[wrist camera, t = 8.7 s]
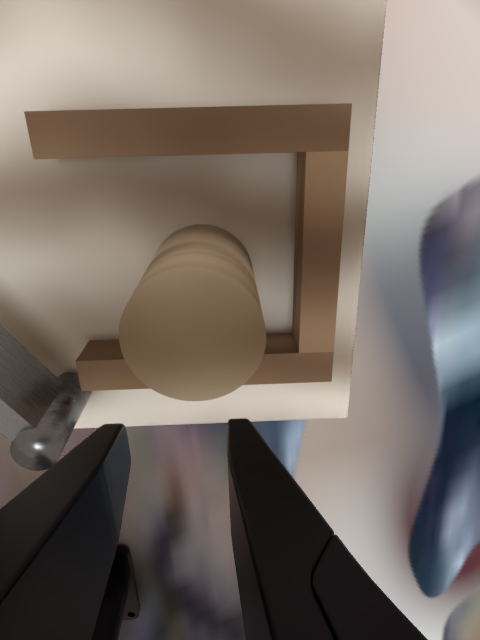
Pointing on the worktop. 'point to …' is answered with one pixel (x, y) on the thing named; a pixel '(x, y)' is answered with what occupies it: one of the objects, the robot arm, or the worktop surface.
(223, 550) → the worktop surface
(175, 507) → the worktop surface
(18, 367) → the bar
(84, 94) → the cradle
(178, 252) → the pivot pin
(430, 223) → the worktop surface
